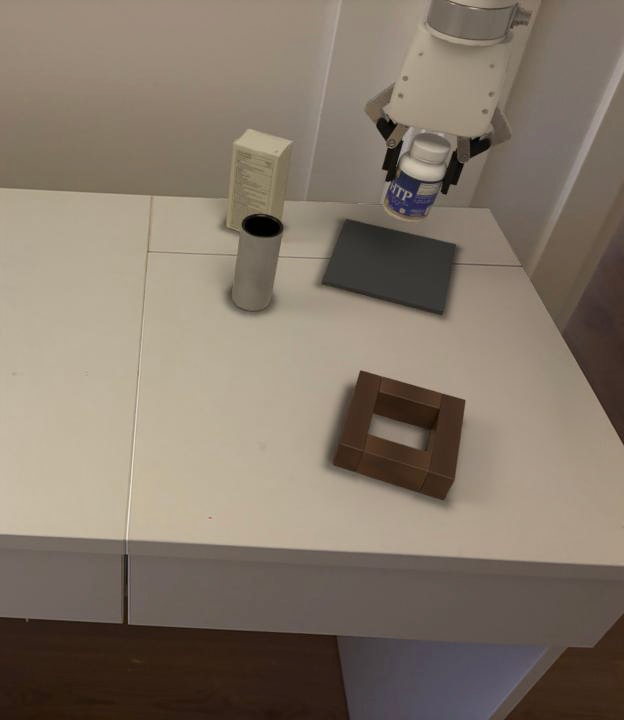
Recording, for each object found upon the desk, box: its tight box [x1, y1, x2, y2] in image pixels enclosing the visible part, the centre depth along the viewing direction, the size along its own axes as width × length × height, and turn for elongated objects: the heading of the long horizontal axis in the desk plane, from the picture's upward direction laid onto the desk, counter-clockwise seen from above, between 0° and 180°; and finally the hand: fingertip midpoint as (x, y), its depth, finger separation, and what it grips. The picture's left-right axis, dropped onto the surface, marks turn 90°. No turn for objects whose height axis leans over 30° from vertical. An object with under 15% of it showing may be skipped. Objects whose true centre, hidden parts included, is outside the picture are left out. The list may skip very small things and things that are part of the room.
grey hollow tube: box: [231, 214, 285, 312], centre depth 83 cm, size 4×4×10 cm
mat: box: [321, 218, 457, 316], centre depth 92 cm, size 14×14×1 cm
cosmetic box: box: [225, 128, 294, 233], centre depth 93 cm, size 6×4×12 cm
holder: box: [332, 370, 467, 501], centre depth 71 cm, size 10×10×3 cm
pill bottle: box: [382, 132, 452, 224], centre depth 83 cm, size 5×5×9 cm
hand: (417, 180), depth 83 cm, fingers closed on pill bottle, 5 cm apart
